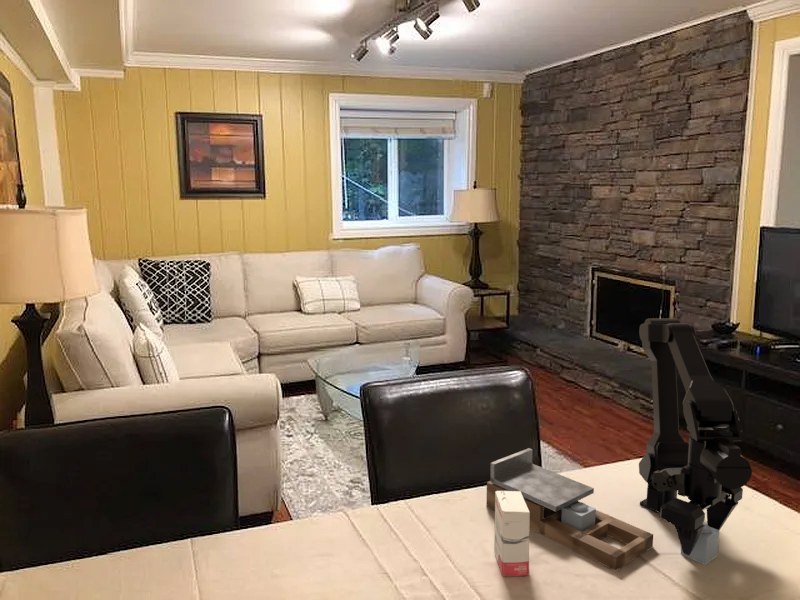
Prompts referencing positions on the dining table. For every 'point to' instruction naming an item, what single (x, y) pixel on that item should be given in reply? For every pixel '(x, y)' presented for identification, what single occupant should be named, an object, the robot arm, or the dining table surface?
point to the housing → (587, 533)
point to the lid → (537, 481)
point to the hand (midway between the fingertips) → (699, 545)
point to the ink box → (512, 533)
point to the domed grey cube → (705, 545)
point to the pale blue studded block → (579, 516)
